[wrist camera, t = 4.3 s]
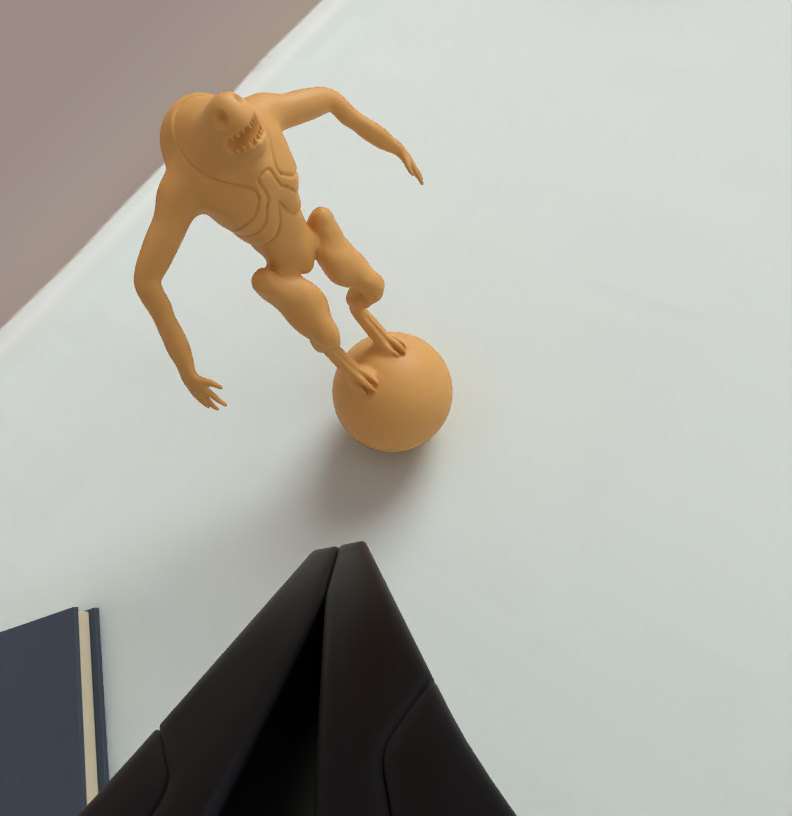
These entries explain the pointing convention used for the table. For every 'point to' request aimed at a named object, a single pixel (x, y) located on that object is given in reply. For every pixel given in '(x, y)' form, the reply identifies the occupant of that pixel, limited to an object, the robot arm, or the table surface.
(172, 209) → the figurine
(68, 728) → the notebook
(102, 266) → the table surface
